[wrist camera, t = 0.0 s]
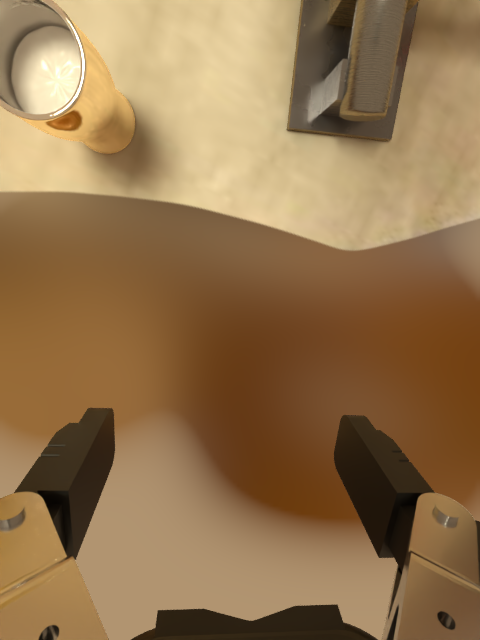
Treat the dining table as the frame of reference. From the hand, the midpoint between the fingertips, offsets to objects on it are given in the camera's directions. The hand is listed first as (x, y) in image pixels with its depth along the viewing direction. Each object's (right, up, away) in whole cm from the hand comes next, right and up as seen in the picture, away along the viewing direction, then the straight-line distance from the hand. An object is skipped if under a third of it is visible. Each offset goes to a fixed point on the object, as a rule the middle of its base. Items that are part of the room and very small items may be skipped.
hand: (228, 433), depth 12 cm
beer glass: (-13, +24, +22) cm, 35 cm away
